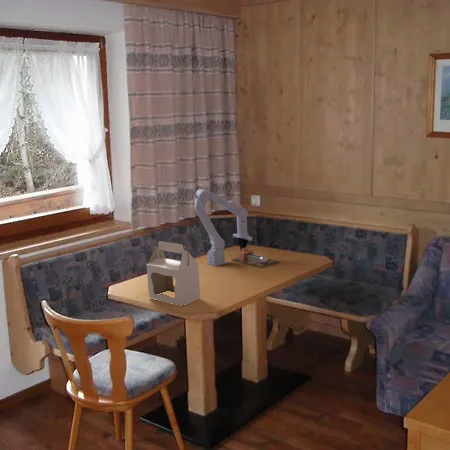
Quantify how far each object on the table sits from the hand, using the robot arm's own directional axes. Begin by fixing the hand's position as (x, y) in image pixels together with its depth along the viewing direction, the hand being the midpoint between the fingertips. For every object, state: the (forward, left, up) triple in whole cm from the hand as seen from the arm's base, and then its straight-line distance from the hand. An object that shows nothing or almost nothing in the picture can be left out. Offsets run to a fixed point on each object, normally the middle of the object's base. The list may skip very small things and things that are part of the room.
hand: (243, 251), depth 376 cm
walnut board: (+2, -8, -5) cm, 10 cm away
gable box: (-70, -28, -6) cm, 75 cm away
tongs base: (0, -10, -4) cm, 11 cm away
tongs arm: (+1, -7, -4) cm, 9 cm away
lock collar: (0, -3, -4) cm, 5 cm away
